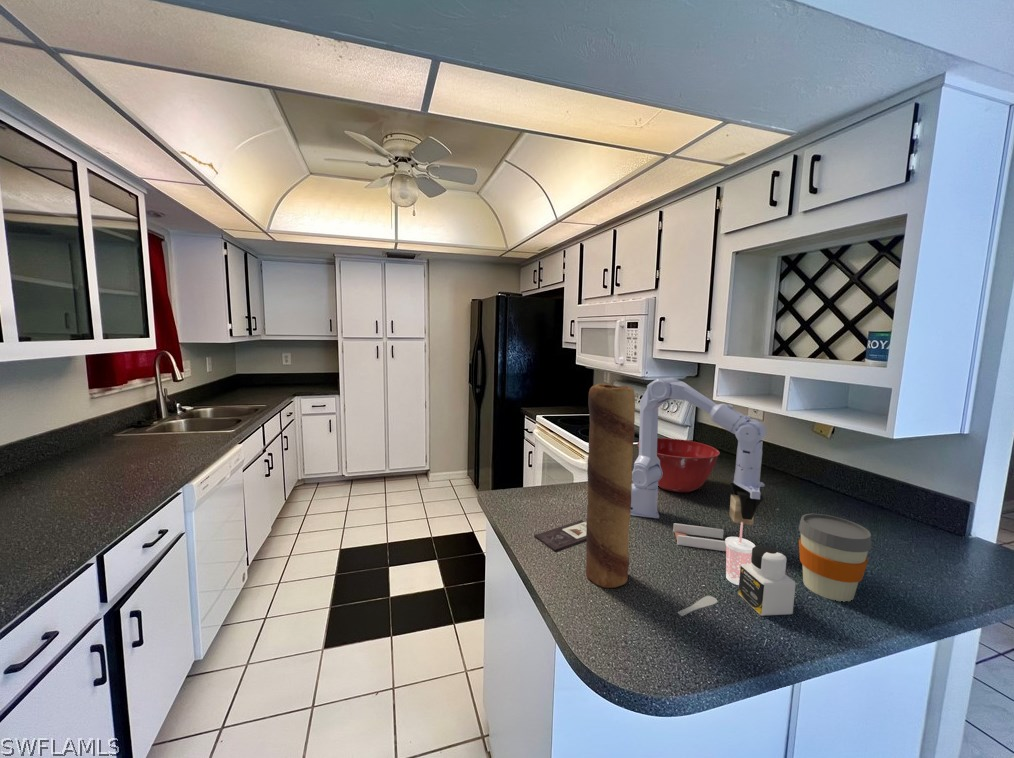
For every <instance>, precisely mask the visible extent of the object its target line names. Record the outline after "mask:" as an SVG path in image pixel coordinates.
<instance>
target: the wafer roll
mask: <svg viewBox="0 0 1014 758" xmlns="http://www.w3.org/2000/svg"><path fill="white" fill-rule="evenodd" d="M635 394H636V393H635V390H634V388H633V387H632V386H628V385H618V386H617V385H615V384H609V383H597V384H595V385H592V386H591V387H590V388H589V391H588V399H587V400H588V401H587V404H588V410H589V411H588V412H589V431H588V437H589V438H588V457H587V469H586V470H587V474H586V475H587V495H586V496H587V509H586V514H587V515H586V523H587V531H586V541H585V542H586V548H585V549H586V556H585V557H586V559H585V560H586V561H585V562H586V564H585V565H586V567H585V574H586V578H587V579H588V580H589V581H591V582H592V583H593V584H594V585H596V586H599V587H600V588H604V589H615V588H619V587H621V586H624V585H626V583H627V582H628V577H629V575H628V574H629V573H628V572H629V566H630V553H629V551H630V550H629V546H630V541H629V539H630V538H629V534H630V520H631V516H632V515H631V490H632V484H633V481H632V471H633V470H632V466H633V451H634V439H635V432H636V431H635V423H636V422H635V419H636V418H635V415H636V414H635V413H636V412H635V411H636V397H635V396H636V395H635Z"/></svg>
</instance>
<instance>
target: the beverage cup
mask: <svg viewBox="0 0 1014 758" xmlns="http://www.w3.org/2000/svg"><path fill="white" fill-rule="evenodd" d="M743 528H744V524H743V522H741V523H740V528H739V529H740V530H739V537H738V536H727V537H725V540H724V541H725V544H726V551H725V554H726V555H725V562H726V563H725V577H726V579H727V581H729V582H730V583H732V584H733V585H737V586H739V579H740V567H741V564H751V557H752V549H753V548H754V547H755V546H756V545H755V543H753V542H752V541H750V540H748V539H746V538H743V530H744V529H743Z"/></svg>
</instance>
